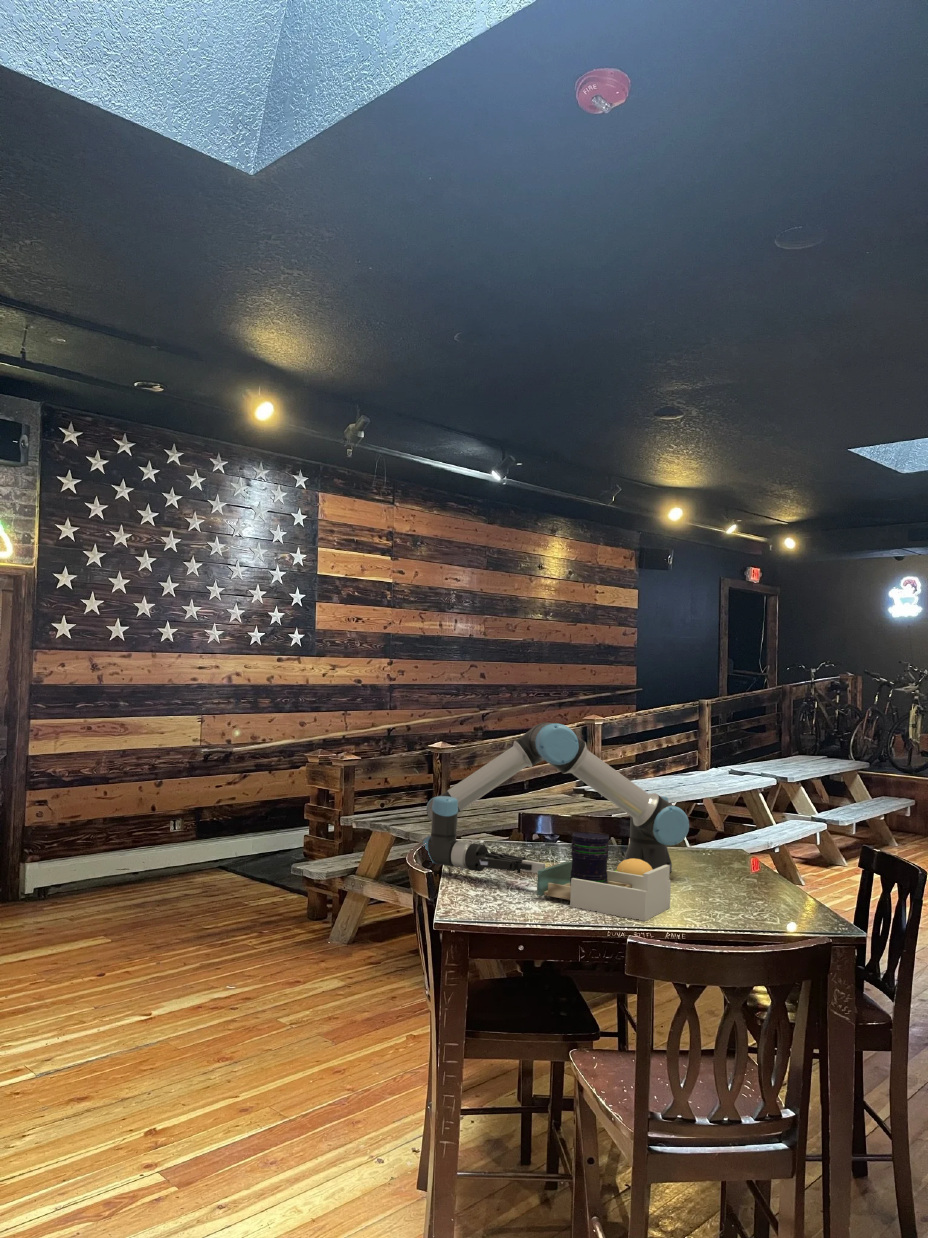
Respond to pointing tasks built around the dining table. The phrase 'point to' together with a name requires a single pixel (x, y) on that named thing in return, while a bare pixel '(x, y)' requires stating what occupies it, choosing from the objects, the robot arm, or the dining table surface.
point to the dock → (625, 894)
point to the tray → (560, 881)
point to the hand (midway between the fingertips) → (543, 868)
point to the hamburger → (634, 867)
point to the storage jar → (589, 857)
